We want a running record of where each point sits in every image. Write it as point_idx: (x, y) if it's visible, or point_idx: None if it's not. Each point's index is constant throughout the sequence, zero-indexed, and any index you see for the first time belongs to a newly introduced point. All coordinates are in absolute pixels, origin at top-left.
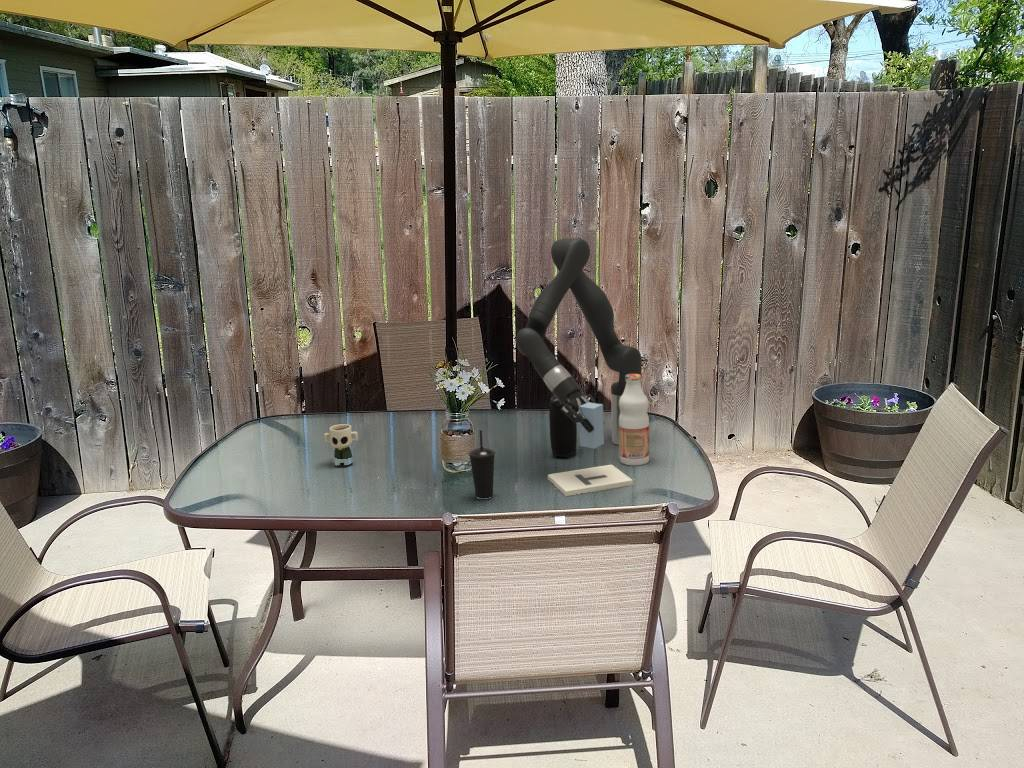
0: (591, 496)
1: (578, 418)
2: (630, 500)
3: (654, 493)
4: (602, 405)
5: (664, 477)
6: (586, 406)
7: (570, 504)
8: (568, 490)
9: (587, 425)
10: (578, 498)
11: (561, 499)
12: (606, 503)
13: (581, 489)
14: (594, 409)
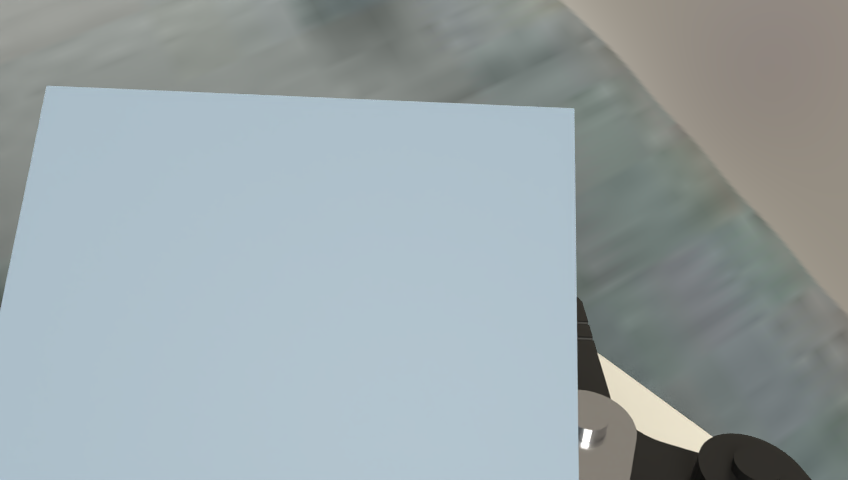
0: (612, 291)
1: (789, 469)
2: (544, 70)
3: (385, 6)
4: (87, 99)
5: (123, 57)
6: (463, 443)
7: (794, 341)
8: (695, 432)
9: (590, 331)
10: (685, 347)
11: (762, 439)
12: (655, 162)
13: (616, 368)
14: (529, 121)
